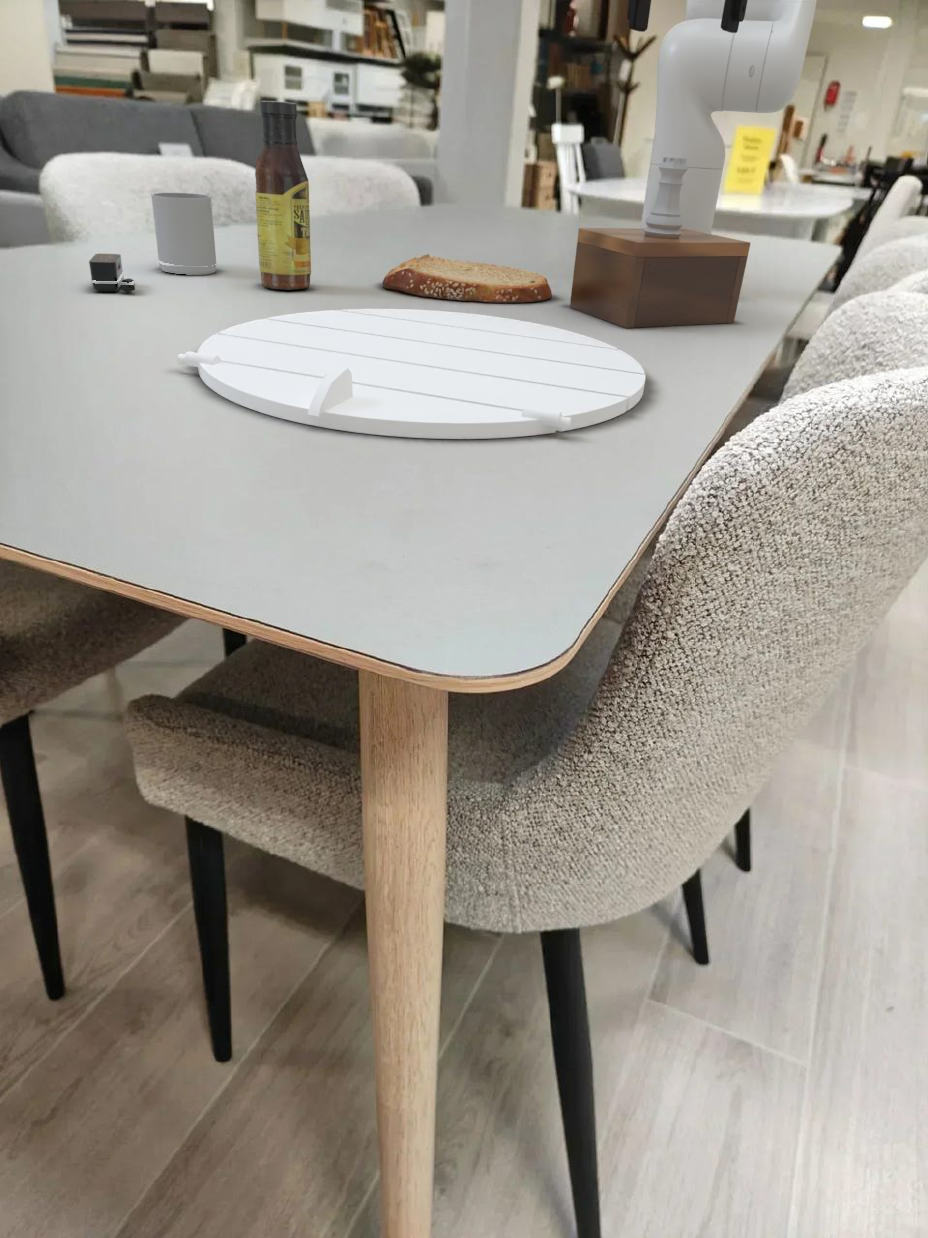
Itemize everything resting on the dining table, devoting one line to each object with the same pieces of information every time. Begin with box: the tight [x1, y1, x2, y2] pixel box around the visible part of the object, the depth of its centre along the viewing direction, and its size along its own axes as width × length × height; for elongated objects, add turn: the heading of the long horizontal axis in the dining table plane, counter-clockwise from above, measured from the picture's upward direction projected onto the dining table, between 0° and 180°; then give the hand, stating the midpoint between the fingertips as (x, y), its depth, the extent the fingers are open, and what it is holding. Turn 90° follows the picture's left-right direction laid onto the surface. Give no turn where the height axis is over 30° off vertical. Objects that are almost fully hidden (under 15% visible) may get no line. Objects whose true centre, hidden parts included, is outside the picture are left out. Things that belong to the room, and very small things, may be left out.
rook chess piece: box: [644, 157, 688, 238], centre depth 98 cm, size 4×4×8 cm
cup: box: [150, 192, 217, 276], centre depth 112 cm, size 7×10×9 cm
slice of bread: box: [381, 253, 553, 304], centre depth 110 cm, size 18×18×4 cm
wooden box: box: [569, 227, 751, 329], centre depth 103 cm, size 12×16×9 cm
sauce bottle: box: [254, 100, 312, 291], centre depth 102 cm, size 6×6×20 cm
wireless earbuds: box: [88, 253, 136, 293], centre depth 99 cm, size 5×7×3 cm, turn 13°
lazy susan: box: [176, 308, 647, 440], centre depth 76 cm, size 40×39×3 cm
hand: (682, 30), depth 86 cm, fingers open, 9 cm apart
